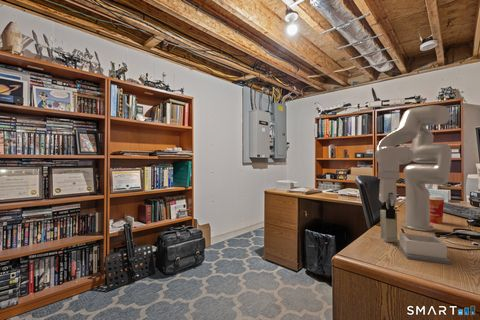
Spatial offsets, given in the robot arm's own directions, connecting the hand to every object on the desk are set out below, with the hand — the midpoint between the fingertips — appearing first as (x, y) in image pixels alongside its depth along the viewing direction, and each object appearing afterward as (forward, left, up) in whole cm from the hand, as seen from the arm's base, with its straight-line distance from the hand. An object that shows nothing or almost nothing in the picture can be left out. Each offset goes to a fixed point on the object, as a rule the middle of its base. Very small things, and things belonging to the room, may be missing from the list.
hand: (387, 216), depth 98 cm
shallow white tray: (+11, +8, -10) cm, 17 cm away
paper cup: (-42, +29, -10) cm, 52 cm away
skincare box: (-1, 0, -10) cm, 10 cm away
